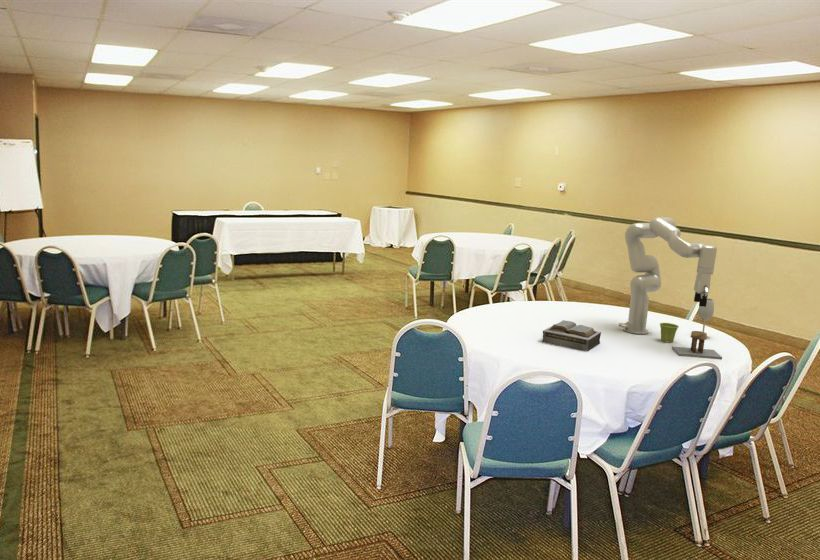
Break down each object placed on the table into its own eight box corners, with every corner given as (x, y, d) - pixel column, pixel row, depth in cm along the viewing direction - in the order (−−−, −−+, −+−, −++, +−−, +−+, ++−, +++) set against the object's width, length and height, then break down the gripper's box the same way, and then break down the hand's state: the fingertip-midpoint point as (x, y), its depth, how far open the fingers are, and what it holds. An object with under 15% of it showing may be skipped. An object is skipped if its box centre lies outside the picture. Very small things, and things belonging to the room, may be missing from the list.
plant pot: (676, 339, 348) (678, 324, 347) (677, 344, 339) (679, 328, 338) (657, 337, 351) (659, 321, 350) (658, 341, 342) (659, 325, 341)
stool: (691, 353, 321) (693, 334, 319) (687, 349, 327) (689, 330, 326) (706, 354, 320) (708, 335, 318) (702, 350, 327) (704, 331, 325)
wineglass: (711, 339, 353) (716, 301, 349) (696, 338, 354) (701, 300, 350) (708, 335, 360) (713, 298, 356) (693, 334, 361) (698, 297, 358)
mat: (678, 355, 319) (679, 353, 318) (672, 348, 331) (672, 346, 331) (721, 359, 316) (722, 357, 316) (713, 351, 329) (713, 349, 329)
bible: (560, 334, 350) (562, 316, 348) (606, 345, 332) (608, 326, 330) (535, 341, 334) (537, 322, 332) (583, 353, 315) (585, 333, 313)
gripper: (692, 266, 331) (687, 299, 335) (701, 272, 314) (696, 307, 318) (708, 267, 330) (703, 300, 333) (718, 274, 313) (712, 308, 317)
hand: (699, 304), depth 326 cm, fingers open, 9 cm apart
